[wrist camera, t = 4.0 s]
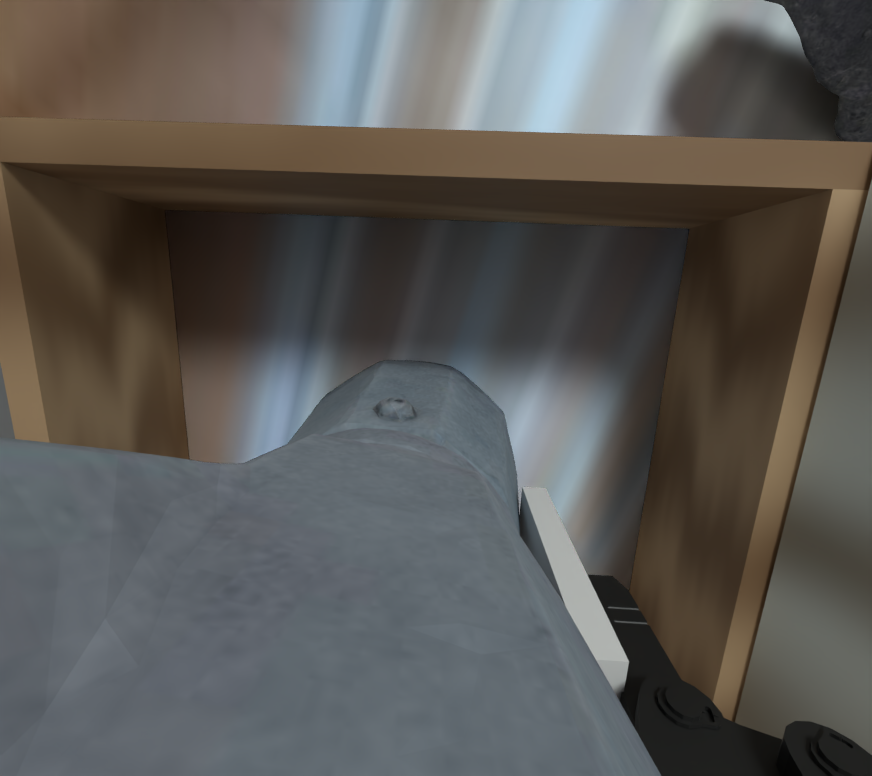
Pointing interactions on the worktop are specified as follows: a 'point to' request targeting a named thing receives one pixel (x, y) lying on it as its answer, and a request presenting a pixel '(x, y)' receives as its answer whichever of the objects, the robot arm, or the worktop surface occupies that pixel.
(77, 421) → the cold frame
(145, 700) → the moka pot
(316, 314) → the worktop surface
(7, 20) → the worktop surface
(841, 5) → the stone
